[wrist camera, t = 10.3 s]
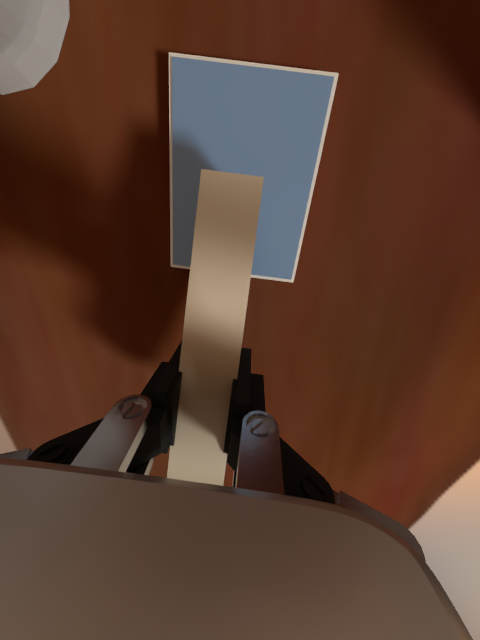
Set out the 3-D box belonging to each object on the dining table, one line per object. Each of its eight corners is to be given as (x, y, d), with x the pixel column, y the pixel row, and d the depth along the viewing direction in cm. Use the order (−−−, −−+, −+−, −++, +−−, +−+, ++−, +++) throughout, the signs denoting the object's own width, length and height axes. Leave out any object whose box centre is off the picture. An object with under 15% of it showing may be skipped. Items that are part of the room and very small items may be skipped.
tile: (293, 283, 14) (339, 71, 10) (169, 267, 14) (167, 50, 10) (289, 277, 16) (328, 91, 12) (178, 262, 16) (178, 72, 12)
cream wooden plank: (222, 484, 14) (213, 558, 10) (183, 479, 14) (158, 551, 10) (257, 217, 13) (263, 177, 9) (214, 211, 13) (201, 169, 9)
